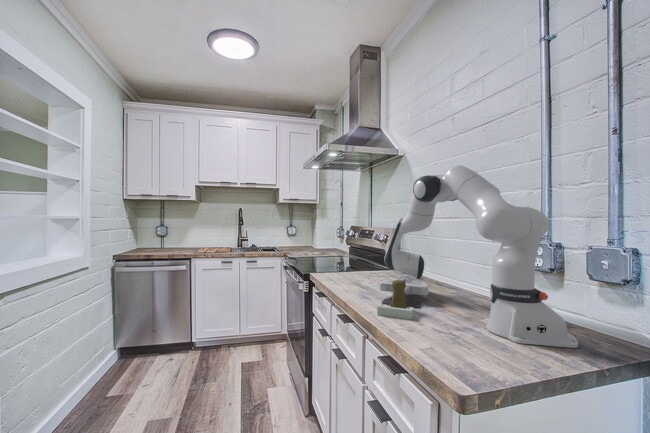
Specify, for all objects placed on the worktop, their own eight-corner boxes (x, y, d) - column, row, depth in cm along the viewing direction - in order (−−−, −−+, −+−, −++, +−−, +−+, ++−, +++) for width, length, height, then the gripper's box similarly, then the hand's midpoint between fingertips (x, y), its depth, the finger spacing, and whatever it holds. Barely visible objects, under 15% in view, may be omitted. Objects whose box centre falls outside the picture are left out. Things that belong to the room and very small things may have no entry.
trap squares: (421, 303, 120) (421, 302, 120) (419, 308, 113) (419, 307, 113) (384, 299, 125) (384, 298, 125) (381, 303, 119) (381, 302, 119)
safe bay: (413, 315, 105) (413, 307, 105) (411, 319, 100) (411, 310, 100) (379, 311, 109) (379, 303, 109) (377, 314, 105) (377, 306, 105)
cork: (405, 306, 115) (405, 279, 115) (408, 311, 109) (408, 282, 109) (389, 306, 116) (389, 278, 116) (391, 311, 110) (391, 281, 110)
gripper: (382, 275, 135) (375, 281, 122) (429, 279, 127) (427, 286, 114) (382, 289, 135) (375, 296, 122) (429, 294, 127) (427, 302, 114)
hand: (401, 291), depth 118 cm, fingers closed
